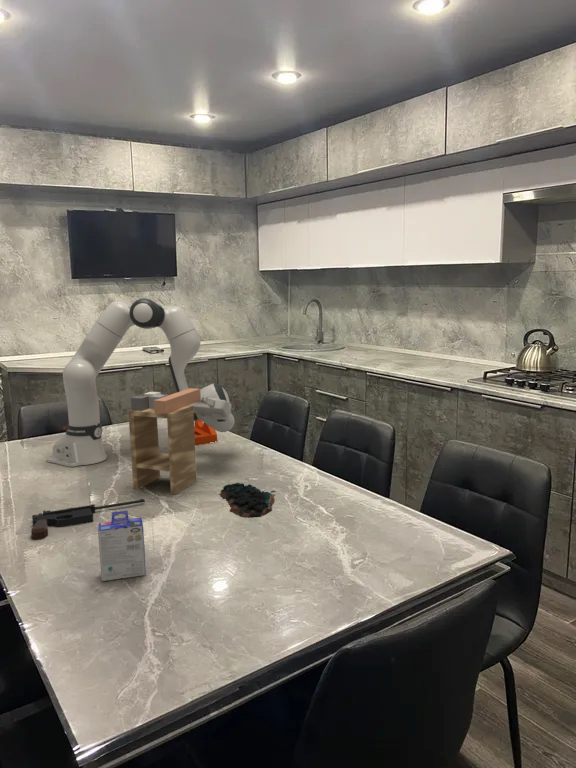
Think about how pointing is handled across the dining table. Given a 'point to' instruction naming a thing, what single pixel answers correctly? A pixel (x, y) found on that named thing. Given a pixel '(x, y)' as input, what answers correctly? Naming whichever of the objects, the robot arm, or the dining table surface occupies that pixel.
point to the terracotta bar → (176, 400)
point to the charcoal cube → (140, 403)
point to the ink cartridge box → (121, 547)
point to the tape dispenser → (204, 433)
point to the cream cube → (151, 394)
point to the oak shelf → (147, 448)
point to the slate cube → (154, 397)
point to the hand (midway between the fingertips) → (191, 398)
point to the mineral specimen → (247, 500)
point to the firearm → (67, 517)
